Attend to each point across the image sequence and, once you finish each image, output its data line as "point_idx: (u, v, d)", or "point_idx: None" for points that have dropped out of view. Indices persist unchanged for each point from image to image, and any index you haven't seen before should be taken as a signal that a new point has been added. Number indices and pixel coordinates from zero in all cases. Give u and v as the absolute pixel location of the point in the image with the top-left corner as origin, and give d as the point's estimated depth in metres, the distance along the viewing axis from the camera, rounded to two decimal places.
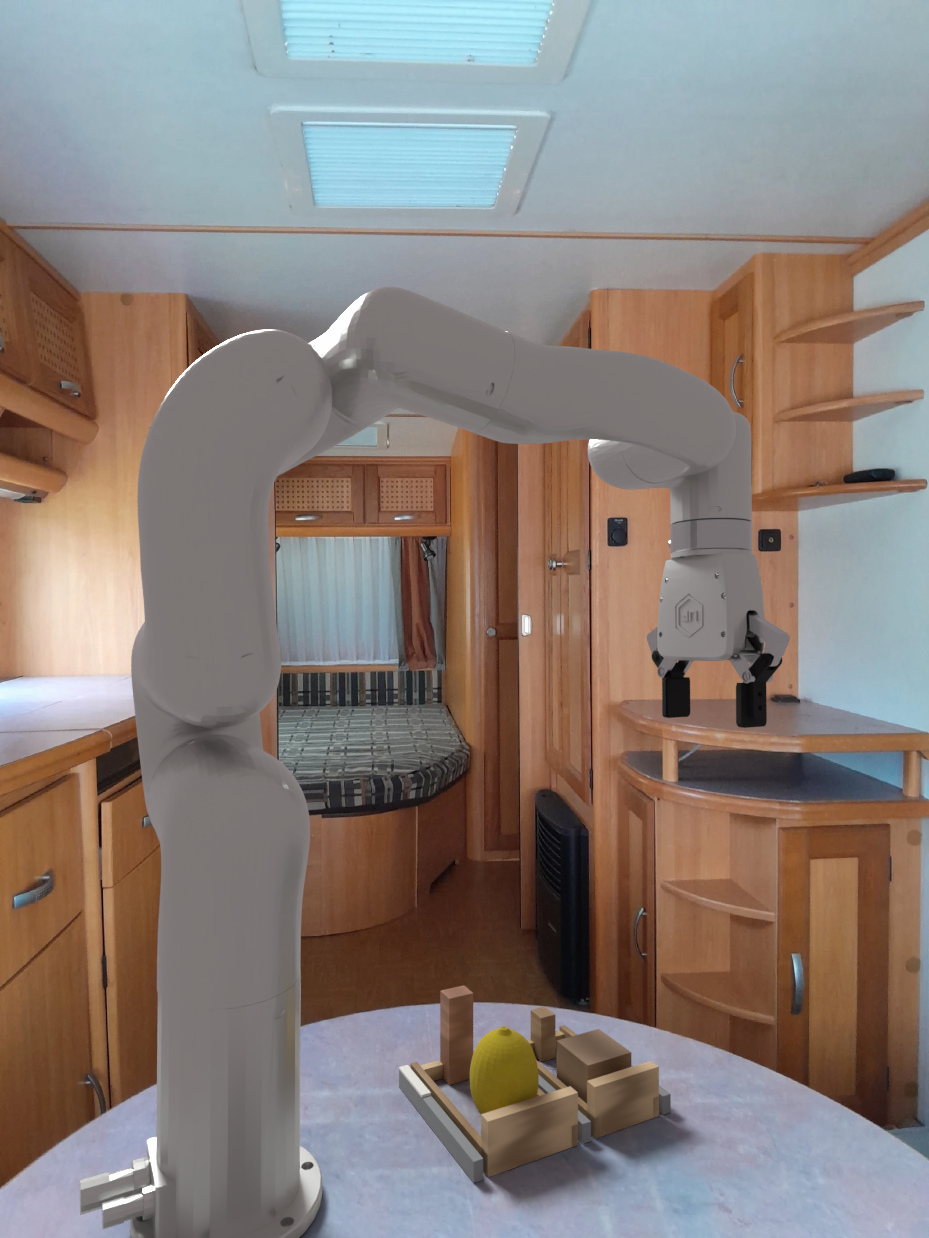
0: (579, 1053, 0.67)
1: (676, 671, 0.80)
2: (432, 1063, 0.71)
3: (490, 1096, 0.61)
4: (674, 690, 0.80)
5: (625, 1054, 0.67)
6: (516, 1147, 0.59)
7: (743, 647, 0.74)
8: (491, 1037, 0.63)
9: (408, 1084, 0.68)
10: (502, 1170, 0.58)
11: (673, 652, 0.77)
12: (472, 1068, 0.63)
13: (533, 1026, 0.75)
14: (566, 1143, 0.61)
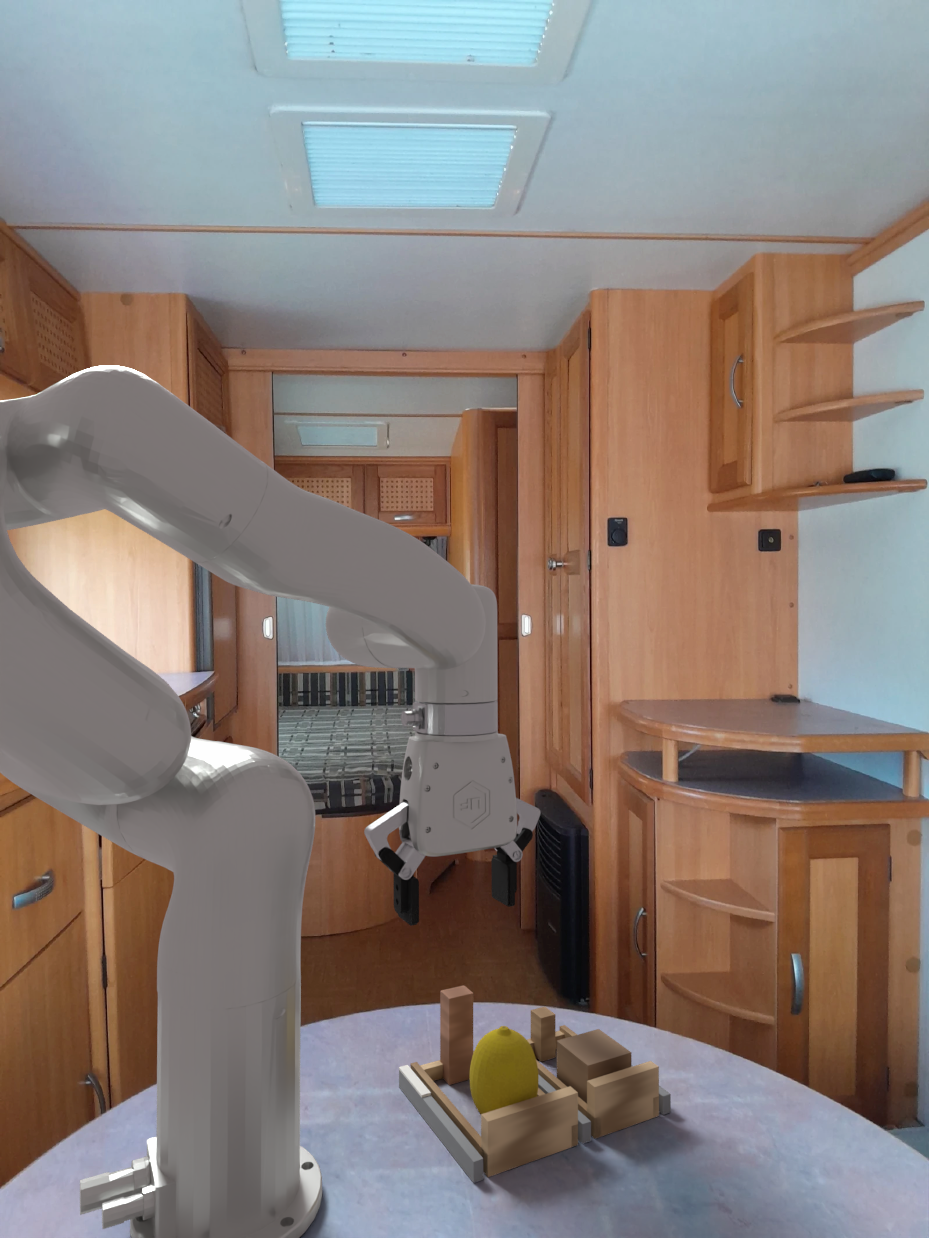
0: (579, 1054, 0.67)
1: None
2: (432, 1063, 0.71)
3: (490, 1096, 0.61)
4: None
5: (625, 1054, 0.67)
6: (516, 1147, 0.59)
7: None
8: (490, 1037, 0.63)
9: (408, 1084, 0.68)
10: (502, 1170, 0.58)
11: (449, 847, 0.68)
12: (472, 1068, 0.63)
13: (533, 1026, 0.75)
14: (566, 1143, 0.61)
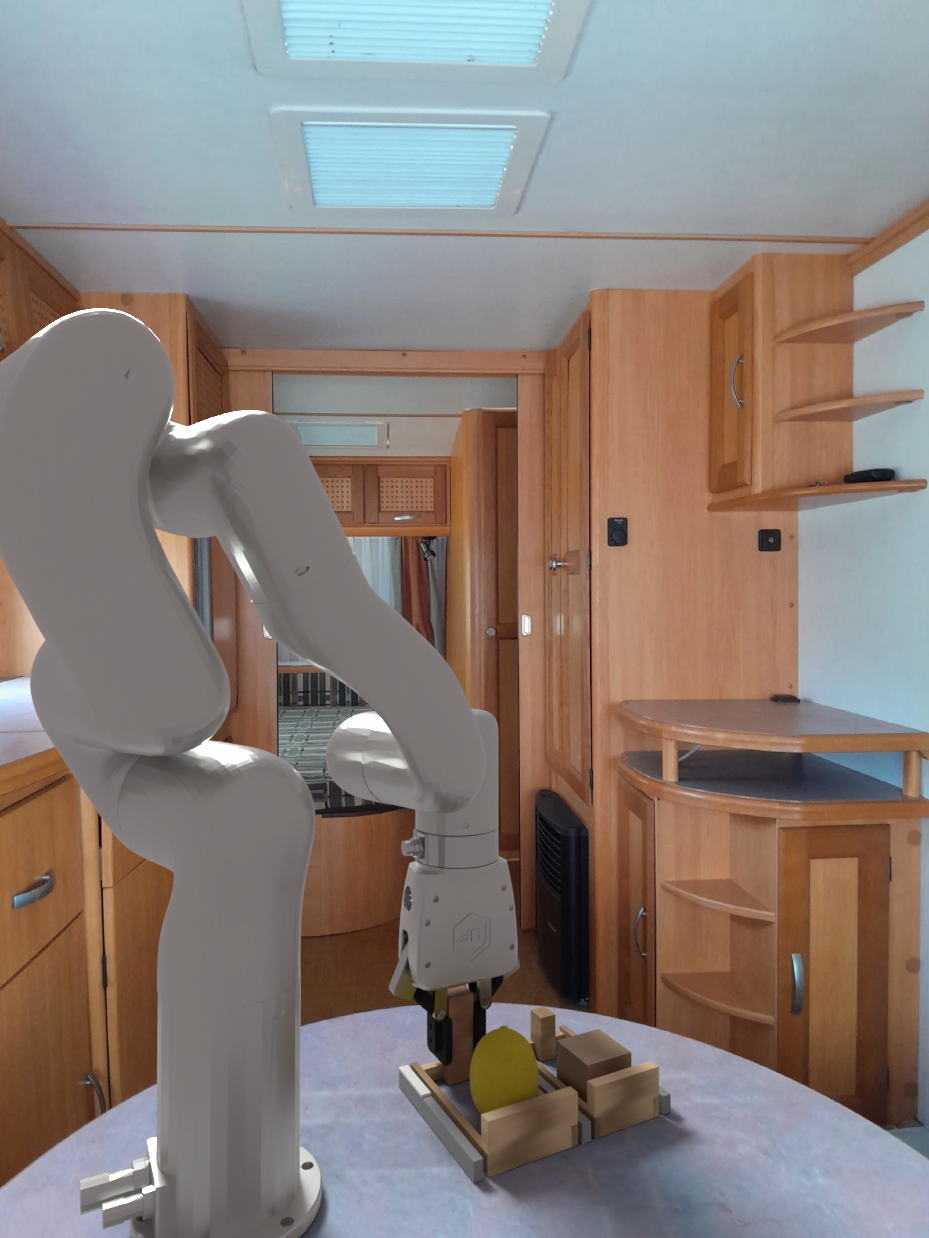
0: (579, 1054, 0.67)
1: None
2: (432, 1063, 0.71)
3: (490, 1096, 0.61)
4: None
5: (625, 1054, 0.67)
6: (516, 1147, 0.59)
7: None
8: (491, 1037, 0.63)
9: (408, 1084, 0.68)
10: (502, 1170, 0.58)
11: (449, 981, 0.68)
12: (472, 1068, 0.63)
13: (533, 1026, 0.75)
14: (566, 1143, 0.61)
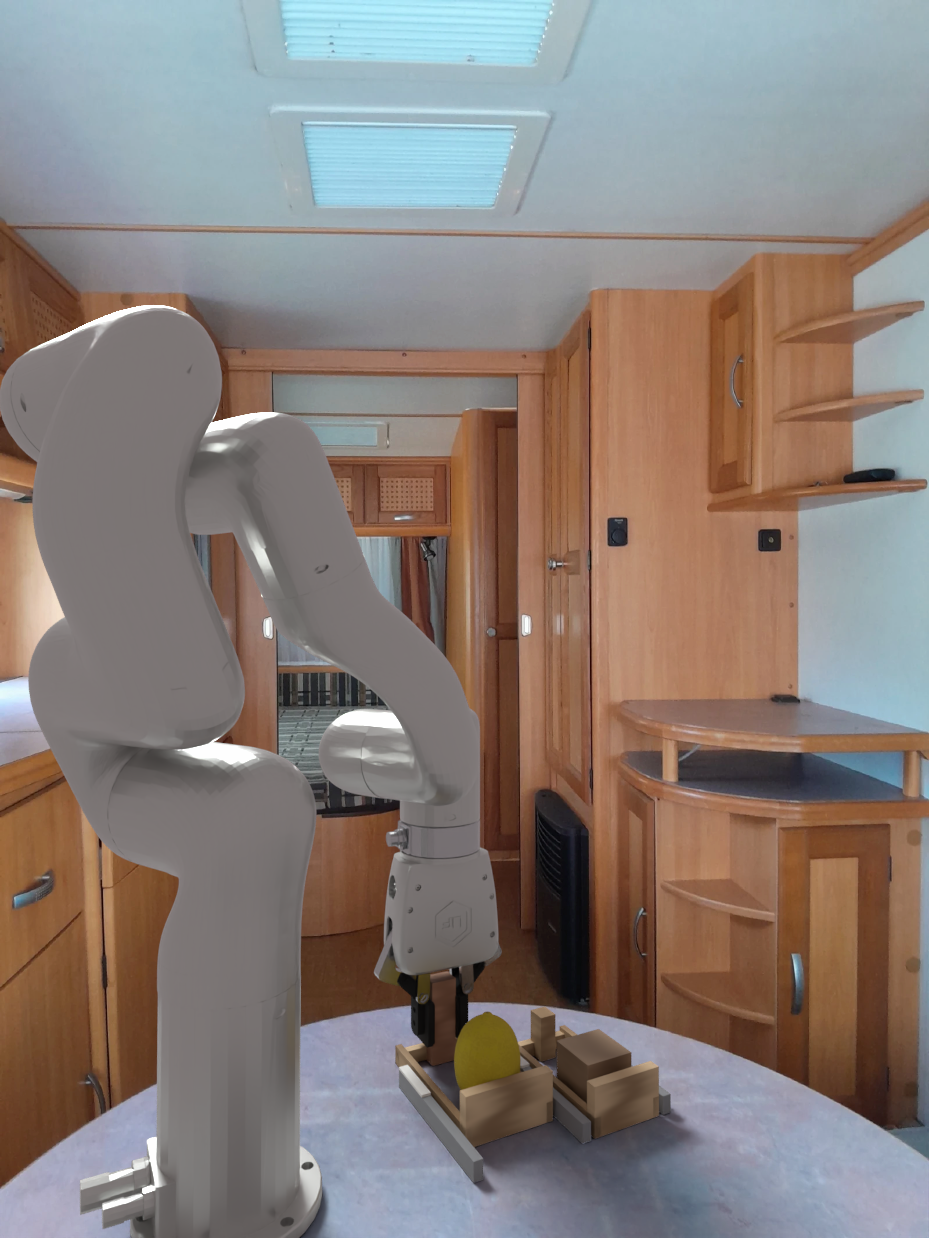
0: (579, 1054, 0.67)
1: None
2: (416, 1045, 0.74)
3: (474, 1078, 0.64)
4: None
5: (625, 1054, 0.67)
6: (493, 1121, 0.62)
7: None
8: (475, 1022, 0.66)
9: (408, 1084, 0.68)
10: (479, 1143, 0.61)
11: (431, 966, 0.71)
12: (456, 1052, 0.65)
13: (533, 1026, 0.75)
14: (541, 1119, 0.64)
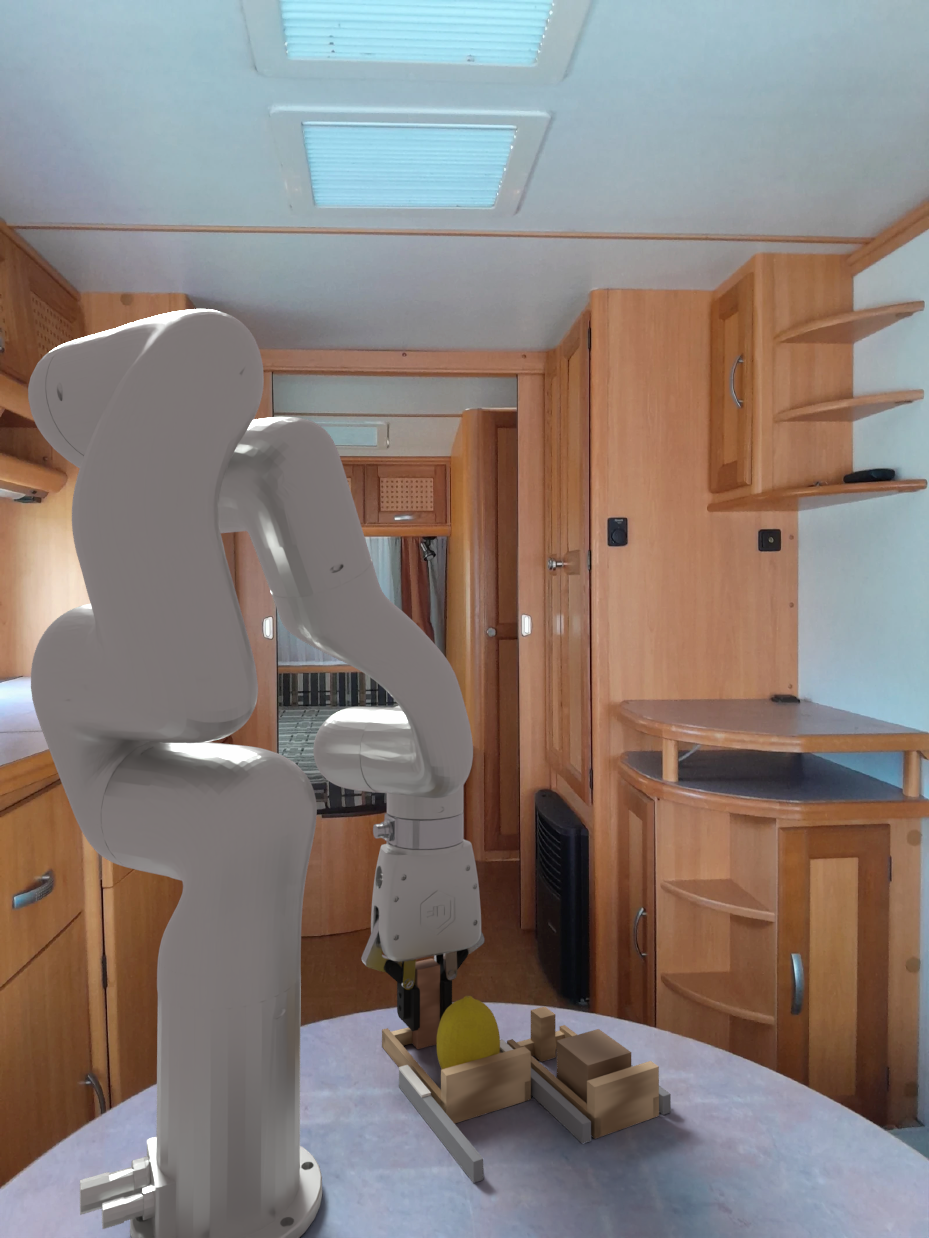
0: (579, 1054, 0.67)
1: None
2: (402, 1030, 0.77)
3: (455, 1059, 0.67)
4: None
5: (625, 1054, 0.67)
6: (473, 1099, 0.65)
7: None
8: (456, 1006, 0.69)
9: (408, 1084, 0.68)
10: (460, 1120, 0.64)
11: (416, 953, 0.74)
12: (438, 1034, 0.68)
13: (533, 1026, 0.75)
14: (519, 1097, 0.67)
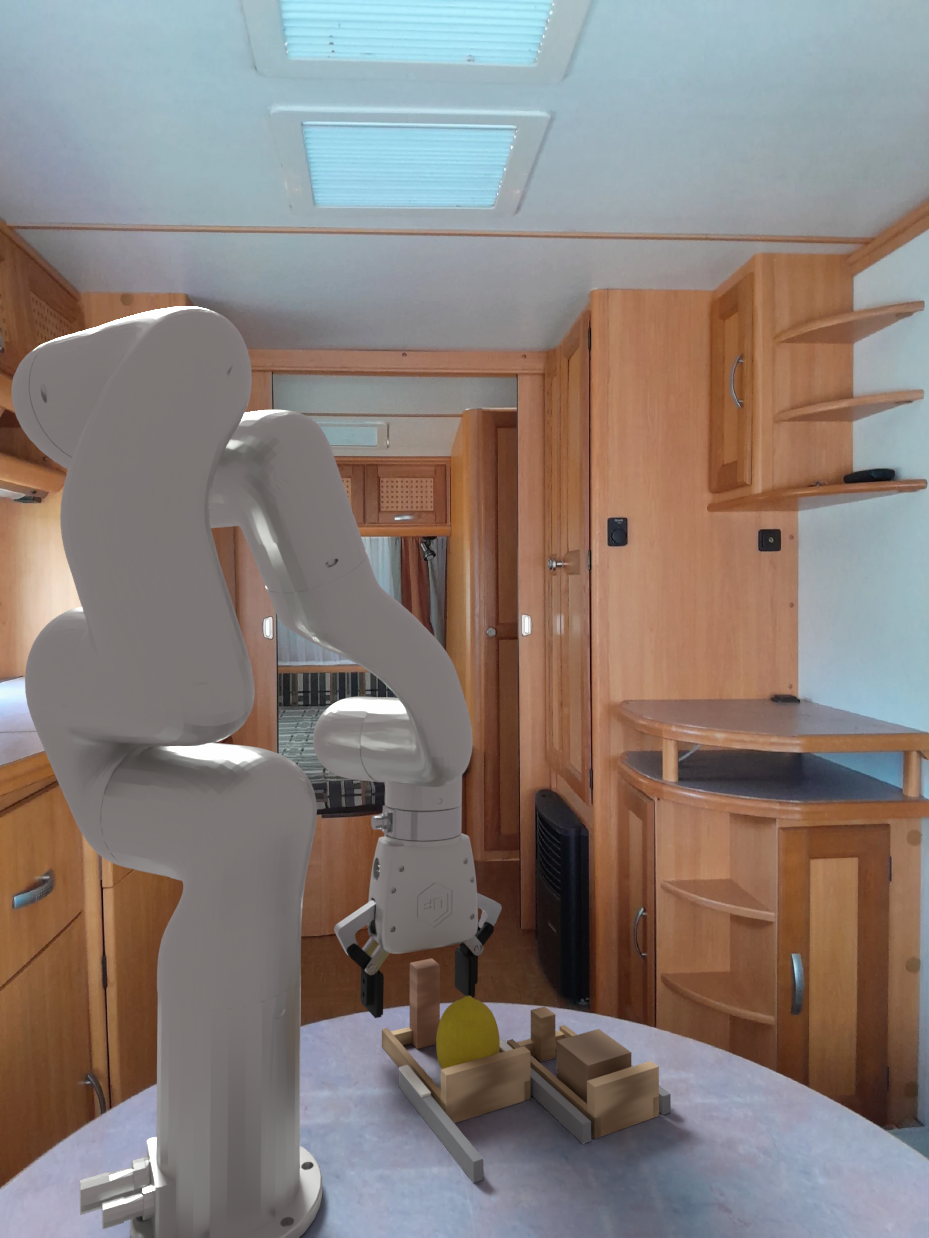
0: (579, 1054, 0.67)
1: None
2: (402, 1029, 0.77)
3: (454, 1059, 0.67)
4: None
5: (625, 1054, 0.67)
6: (472, 1099, 0.65)
7: None
8: (455, 1006, 0.69)
9: (408, 1084, 0.68)
10: (459, 1120, 0.64)
11: (412, 945, 0.74)
12: (438, 1034, 0.68)
13: (533, 1026, 0.75)
14: (519, 1097, 0.67)
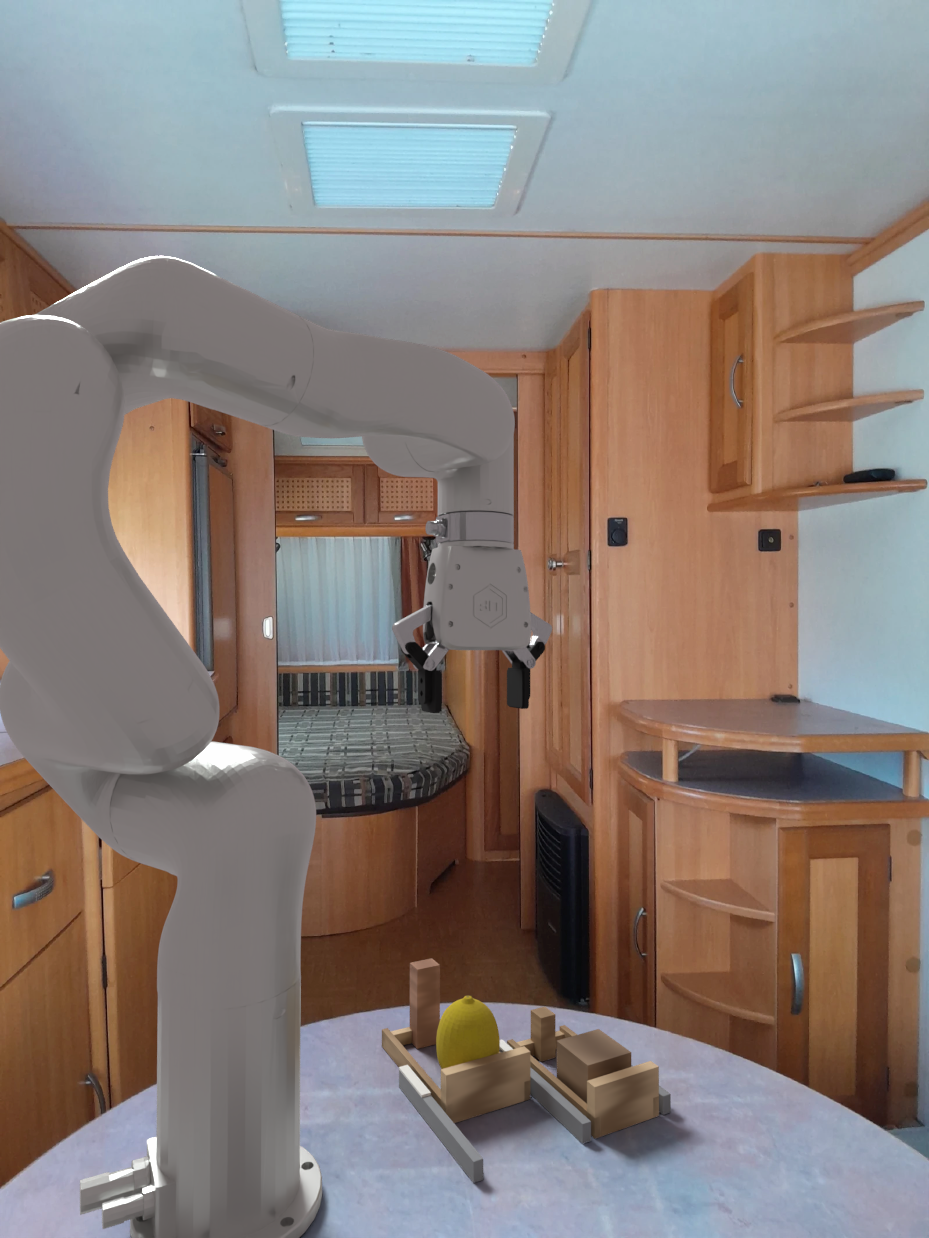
0: (579, 1054, 0.67)
1: None
2: (402, 1029, 0.77)
3: (454, 1059, 0.67)
4: None
5: (625, 1054, 0.67)
6: (472, 1099, 0.65)
7: None
8: (455, 1006, 0.69)
9: (408, 1084, 0.68)
10: (459, 1120, 0.64)
11: (469, 642, 0.75)
12: (438, 1034, 0.68)
13: (533, 1026, 0.75)
14: (519, 1097, 0.67)
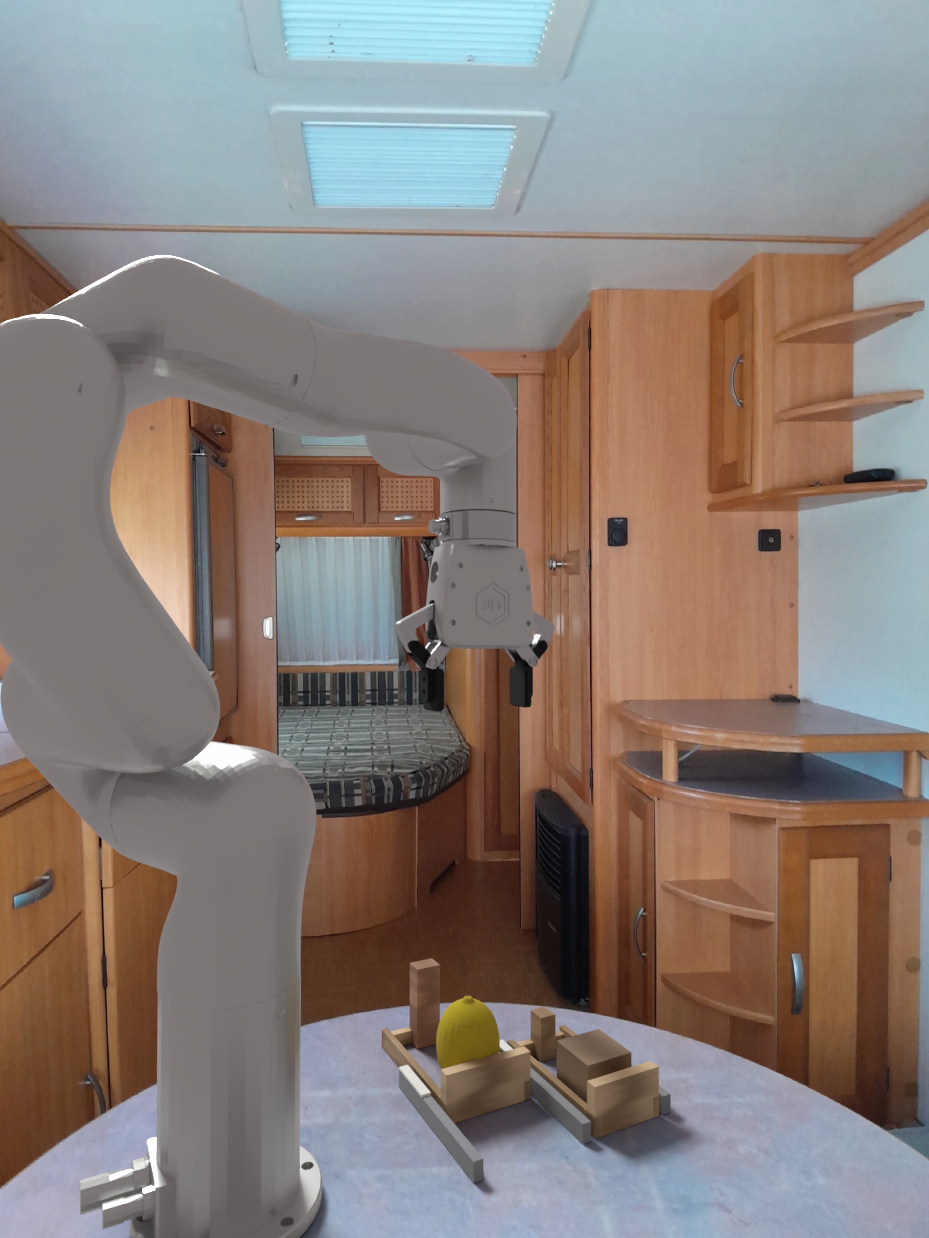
0: (579, 1054, 0.67)
1: None
2: (402, 1029, 0.77)
3: (454, 1059, 0.67)
4: None
5: (625, 1054, 0.67)
6: (472, 1099, 0.65)
7: None
8: (455, 1006, 0.69)
9: (408, 1084, 0.68)
10: (459, 1120, 0.64)
11: (472, 641, 0.75)
12: (438, 1034, 0.68)
13: (533, 1026, 0.75)
14: (519, 1097, 0.67)
